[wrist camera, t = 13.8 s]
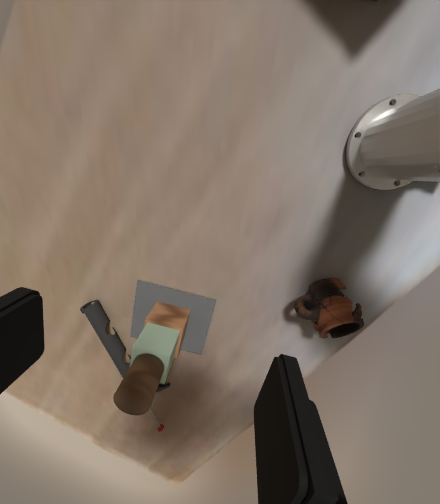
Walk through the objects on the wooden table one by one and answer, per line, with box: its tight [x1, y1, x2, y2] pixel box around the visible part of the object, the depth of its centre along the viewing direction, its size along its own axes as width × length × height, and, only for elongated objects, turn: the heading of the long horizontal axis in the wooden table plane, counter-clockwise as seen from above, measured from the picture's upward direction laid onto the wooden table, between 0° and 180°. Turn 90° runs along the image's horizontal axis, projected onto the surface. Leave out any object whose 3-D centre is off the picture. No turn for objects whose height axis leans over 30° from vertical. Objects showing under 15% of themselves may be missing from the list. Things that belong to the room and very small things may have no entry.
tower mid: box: [130, 322, 180, 384], centre depth 39 cm, size 6×6×6 cm
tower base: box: [144, 301, 190, 359], centre depth 44 cm, size 7×7×6 cm
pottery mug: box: [294, 279, 364, 338], centre depth 41 cm, size 12×10×8 cm
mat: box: [131, 280, 216, 354], centre depth 47 cm, size 16×14×1 cm
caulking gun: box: [80, 300, 170, 432], centre depth 52 cm, size 4×37×10 cm
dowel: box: [114, 353, 164, 415], centre depth 33 cm, size 5×5×6 cm
